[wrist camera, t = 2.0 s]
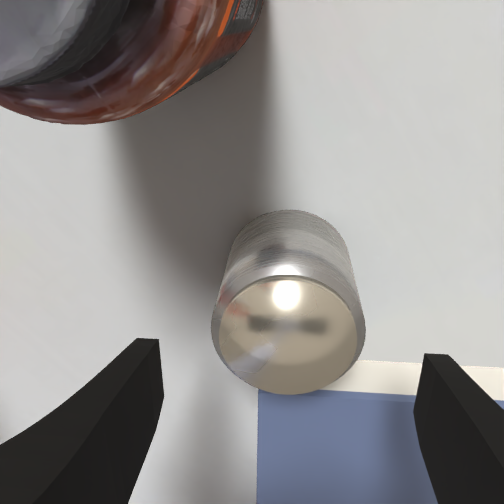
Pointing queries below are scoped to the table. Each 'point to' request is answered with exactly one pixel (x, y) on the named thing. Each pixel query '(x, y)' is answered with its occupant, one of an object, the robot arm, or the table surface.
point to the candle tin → (288, 305)
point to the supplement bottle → (112, 53)
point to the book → (350, 438)
